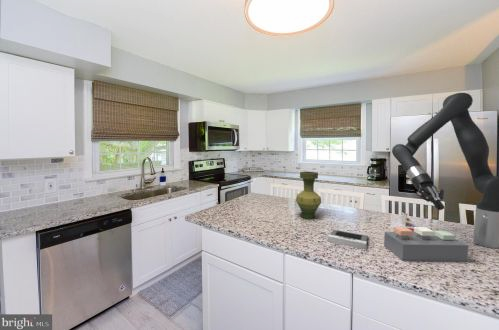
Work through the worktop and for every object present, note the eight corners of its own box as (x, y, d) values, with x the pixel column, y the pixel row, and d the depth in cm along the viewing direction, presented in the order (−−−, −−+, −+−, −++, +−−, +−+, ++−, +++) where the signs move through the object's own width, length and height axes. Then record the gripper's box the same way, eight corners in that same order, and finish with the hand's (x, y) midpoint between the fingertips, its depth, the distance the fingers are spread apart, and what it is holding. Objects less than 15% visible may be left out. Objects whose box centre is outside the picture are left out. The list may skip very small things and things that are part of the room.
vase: (290, 217, 153) (291, 172, 150) (304, 212, 163) (305, 170, 161) (312, 223, 141) (313, 175, 138) (325, 217, 151) (326, 172, 149)
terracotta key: (404, 238, 104) (405, 226, 103) (411, 243, 99) (412, 231, 98) (393, 238, 104) (393, 226, 104) (400, 243, 99) (400, 231, 99)
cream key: (424, 238, 104) (425, 227, 103) (433, 243, 99) (434, 231, 98) (413, 238, 104) (414, 227, 103) (421, 243, 99) (422, 231, 98)
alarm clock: (327, 236, 114) (334, 223, 127) (327, 244, 114) (334, 231, 128) (366, 243, 105) (368, 229, 119) (366, 253, 106) (368, 237, 120)
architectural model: (407, 224, 139) (408, 212, 139) (412, 228, 133) (413, 215, 132) (401, 223, 140) (401, 211, 140) (406, 227, 133) (406, 215, 133)
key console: (440, 246, 108) (441, 232, 107) (466, 261, 94) (468, 245, 94) (383, 245, 109) (384, 231, 108) (402, 260, 95) (403, 244, 95)
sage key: (445, 242, 103) (445, 230, 103) (454, 247, 98) (455, 235, 98) (433, 242, 104) (434, 230, 103) (442, 247, 99) (443, 235, 98)
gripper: (412, 172, 107) (434, 205, 96) (436, 172, 109) (461, 204, 98) (402, 182, 113) (422, 213, 102) (426, 181, 114) (448, 212, 103)
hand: (441, 209), depth 100 cm, fingers closed
